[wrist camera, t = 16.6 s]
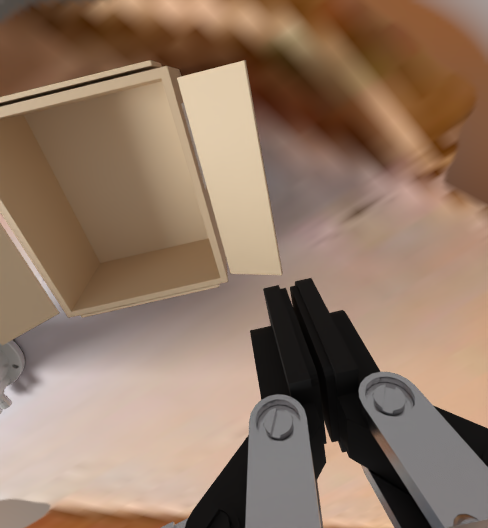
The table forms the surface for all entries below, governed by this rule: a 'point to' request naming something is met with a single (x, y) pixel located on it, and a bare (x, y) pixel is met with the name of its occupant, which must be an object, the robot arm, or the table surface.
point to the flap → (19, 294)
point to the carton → (109, 190)
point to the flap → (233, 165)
